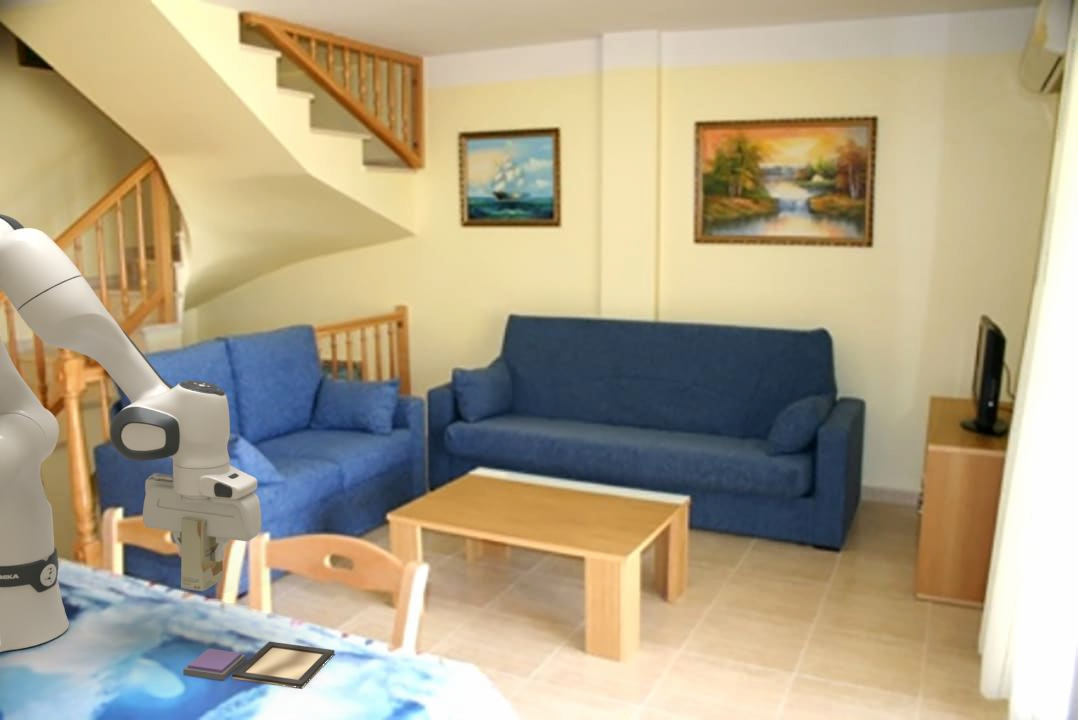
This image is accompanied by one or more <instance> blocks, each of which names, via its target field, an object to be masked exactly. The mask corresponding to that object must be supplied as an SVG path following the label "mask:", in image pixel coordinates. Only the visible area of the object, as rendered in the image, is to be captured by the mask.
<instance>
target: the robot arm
mask: <svg viewBox="0 0 1078 720" xmlns="http://www.w3.org/2000/svg"><path fill="white" fill-rule="evenodd" d="M0 291H2V292H3V294H4V295H5V296H6V297H7V299H8V300H9V303H11V305H12V306H13V308H14V309H15V311H16V312H17V314H19V316H20V317H21V319H22V320H23V322H24V323H25V325H26V326H27V327H28V328H29V329H30V331H32V332H33V333H34V335H36V336H37V337H38V338H39V339H40V340H41V341H43V342H44V343H45V344H46V345H47V346H50V347H53V348H57V349H62V350H66V351H71V352H75V353H79V354H83V355H84V356H87V357H89V358H90V359H92V360H95V361H96V362H97V363H99V365H100V366H101V367H102V368H103V369H104V370H105V371H106V373H107V374H108V375H109V376H110V377H111V379H112V380H113V381H114V382H115V383H116V385H117V386H118V387H119V388H120V389H121V391H122V392H123V393H124V394H125V395H126V397H127V398H128V399H129V401H130V404H129V405H127V406H125V407H124V408H122V409H121V410H120V411H119V412H117V413H116V414H115V416H114V417H113V419H112V421H111V422H110V427H109V437H110V441H111V443H112V446H113V447H114V449H115V450H116V451H117V452H118V453H119V454H120V455H121V456H122V457H124V458H125V459H127V460H131V461H134V462H145V461H152V460H153V461H154V460H160V459H161V460H162V459H167V458H171V459H172V474H162V473H159V472H156V473H153V474H151V475H149V476H148V477H147V479H146V480H145V483H144V486H145V487H144V491H145V497H144V500H143V501H144V502H143V507H142V522H143V525H145V527H146V528H148V529H152V530H154V529H155V530H162V531H169V532H172V539H174V541H175V543H176V545H177V547H178V551H179V553H178V556H179V557H180V558H181V542H182V518H185V517H189V518H196V519H203V520H206V521H207V536H211V537H216V543H219V545H218V547H217V548H215V549H214V550H212V551H210V556H211V557H210V561H214V562H220V561H222V560H224V557H225V556H224V552H225V551H224V550H225V549H226V548H227V546H228V545H229V543H230V541H231V540H232V541H233V540H234V541H242V542H249V541H251V540H253V539H255V537H257V536H258V535H259V534H260V533H261V530H262V508H261V502H260V499H259V497H258V495H257V494H256V493H255V492H254V491H255V490H257V488H258V480H257V478H256V477H254V475H253V476H252V475H250V474H249V473H246V472H244V471H242V470H240V469H238V468H236V467H234V466H232V465H231V464H230V455H229V452H228V443H229V440H230V436H231V434H230V433H231V430H230V429H231V428H230V426H231V425H230V424H231V423H230V407H229V402H228V397H227V394H226V393H225V390H223V389H222V388H221V387H220V386H217V385H216V384H215V383H210V382H207V381H201V380H185V381H181V382H179V383H178V384H176V385H175V386H173V385H172V384H171V383H169V382H168V381H166V380H165V379H164V378H163V377H162V376H161V374H159V372H158V371H157V370H156V369H155V367H154V366H153V365H152V363H151V362H150V360H149V359H148V358H147V357H146V356H145V355H144V353H143V352H142V351H141V350H140V348H139V347H138V346H137V345H136V343H135V342H134V341H133V340H132V338H131V337H130V336H129V335H128V334H127V332H126V331H125V330H124V329H123V328H122V327H121V326H120V325H119V323H118V322H117V321H116V320H115V318H114V317H113V316H112V314H111V313H110V312H109V311H108V310H107V308H106V307H105V306H104V304H103V303H102V301H101V300H100V298H99V296H98V295H97V294H96V293H95V291H94V290H93V289H92V287H91V285H90V283H88V281H87V280H86V278H85V277H84V275H83V274H82V273H81V271H80V269H78V267H77V266H76V265H75V264H74V262H73V261H72V260H71V259H70V257H69V256H68V255H67V254H66V253H65V252H64V250H62V249H61V247H60V246H58V244H57V243H56V242H55V241H54V240H53V239H52V238H51V237H49V235H47V234H46V233H45V232H44V231H41V230H40V229H36V228H34V227H30V228H29V227H24V225H23V224H22V223H20V222H19V221H18V220H17V219H15V218H13V217H11V216H8V215H4V214H1V213H0ZM59 435H60V426H59V423H58V420H57V418H56V417H55V415H54V414H53V413H52V412H51V411H50V410H48V409H47V408H45V407H44V406H43V404H42V403H41V401H40V400H39V399H38V397H37V395H36V394H35V393H34V392H33V390H32V389H31V388H30V387H29V385H28V384H27V383H26V381H25V380H24V379H23V377H22V375H21V374H20V373H19V371H18V369H17V368H16V366H15V364H14V363H13V360H12V358H11V356H10V354H9V352H8V350H7V348H6V346H5V344H4V342H3V340H2V337H1V336H0V653H2V652H7V651H15V650H21V649H26V648H30V647H34V646H38V645H40V644H44V643H47V642H49V641H52V640H53V639H55V638H58V637H59V636H61V635H62V634H64V633H65V632H66V631H67V629H69V627H70V621H69V619H68V616H67V614H66V611H65V606H64V603H63V600H62V599H63V598H62V594H61V589H60V585H59V579H58V574H59V573H58V572H59V555H58V549H57V548H56V547H55V537H54V535H55V533H54V521H53V507H52V505H51V503H50V502H49V500H48V498H47V496H46V495H47V494H46V493H45V489H44V486H43V482H42V476H41V470H42V469H41V468H42V464H43V462H44V461H46V460H47V459H48V458H49V457H50V456H51V455H52V453H53V452H54V450H55V449H56V446H57V443H58V441H59Z"/></svg>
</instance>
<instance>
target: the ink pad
mask: <svg viewBox="0 0 1078 720" xmlns="http://www.w3.org/2000/svg"><path fill="white" fill-rule="evenodd" d="M246 662H247V655H246V654H243V653H242V652H237V651H229V650H223V649H222V650H221V649H217V648H216V649H214V648H207V649H206V650H205V651H203V652H202V653H201V654H200V655H198V656H197V657H196V658H195V659H194V660H192V661H191V662H190V663H189V664H187V665H186V666H185V667H184V668H183V670H182V671H183V676H190V677H196V678H202V679H209V680H214V681H215V680H216V681H217V680H218V681H223V682H224V681H225V680H226V679H227V678H228V677H229V676H230V675H232V674H233V673H234V672H235V671H237V670H238V669H239V668H240V667H241V666H242V665H243V664H244V663H246Z"/></svg>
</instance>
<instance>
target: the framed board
mask: <svg viewBox="0 0 1078 720" xmlns="http://www.w3.org/2000/svg"><path fill="white" fill-rule="evenodd" d="M333 654H334V655H335V649H329V648H320V647H313V646H306V645H298V644H292V643H283V642H277V641H268V642H267V643H266V644H265V645H264V646H263V647H261V648H260V649H259V650H258V651H257V652H255V653H254V654H253V655H252V656H251V657H250V658H249V659H247V660H246V661H245V662H244V663H243V664H242V665H240V666H239V667H238V668H237V669H236V670H235V671H234V672H232V673H231V678H232V679H234V680H241V681H247V682H253V683H259V684H266V685H267V684H268V685H273V684H274V685H273V686H280V685H285V686H284V687H287V686H296V687H303V686H304V684H305V683H306V682H307V681H308V680H309V679H310V678H311V677H312V676H313V675H314V674H315V673H316V672H317V671H318V670H319V669H320V668H321V667H322V666H323V664H325V662H326V661H327V660H328V659H329V658H330V657H331V656H332V655H333ZM334 655H333V656H334ZM333 656H332V657H333ZM332 657H331V658H332ZM331 658H330V659H331ZM330 659H329V660H330ZM329 660H328V661H329ZM328 661H327V662H328ZM327 662H326V663H327ZM325 665H326V664H325ZM323 667H324V666H323ZM323 667H322V668H323ZM322 668H321V669H322ZM321 669H320V670H321ZM320 670H319V671H320ZM319 671H318V672H319ZM318 672H317V673H318ZM317 673H316V674H317ZM316 674H315V675H316ZM315 675H314V676H315ZM314 676H313V677H314ZM313 677H312V678H313ZM312 678H311V679H312ZM311 679H310V680H311ZM310 680H309V681H310ZM309 681H308V682H309ZM304 687H305V686H304ZM304 687H303V688H304Z"/></svg>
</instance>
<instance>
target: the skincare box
mask: <svg viewBox="0 0 1078 720" xmlns="http://www.w3.org/2000/svg"><path fill="white" fill-rule="evenodd" d="M218 545H219V543H216V537H211V536H207V521H206V520H203V519H196V518H189V517H185V518H182V542H181V557H180V560H181V562H180V563H181V564H180V565H181V566H180V568H181V569H180V571H181V572H180V574H181V575H180V577H181V578H180V588H181V589H183V590H184V589H185V590H192V591H199V592H205V591H206V590H208V589H210V588H211V587H213V586H215V585H216V584H217V583H219V582H220V581H221V580H223V567H224V566H223V565H224V563H223V560H224V559H223V560H222V561H220V562H214V561H210V557H211V556H210V551H212V550H214V549H215V548H217V547H218Z"/></svg>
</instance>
